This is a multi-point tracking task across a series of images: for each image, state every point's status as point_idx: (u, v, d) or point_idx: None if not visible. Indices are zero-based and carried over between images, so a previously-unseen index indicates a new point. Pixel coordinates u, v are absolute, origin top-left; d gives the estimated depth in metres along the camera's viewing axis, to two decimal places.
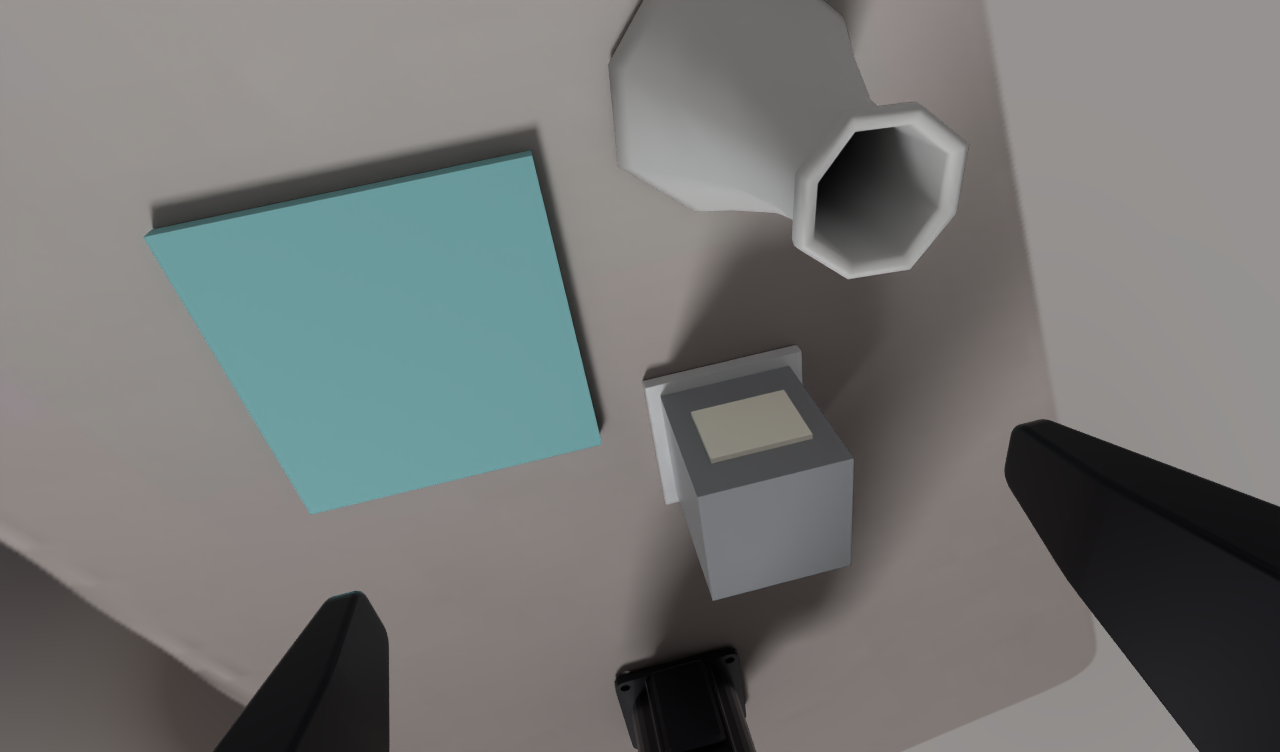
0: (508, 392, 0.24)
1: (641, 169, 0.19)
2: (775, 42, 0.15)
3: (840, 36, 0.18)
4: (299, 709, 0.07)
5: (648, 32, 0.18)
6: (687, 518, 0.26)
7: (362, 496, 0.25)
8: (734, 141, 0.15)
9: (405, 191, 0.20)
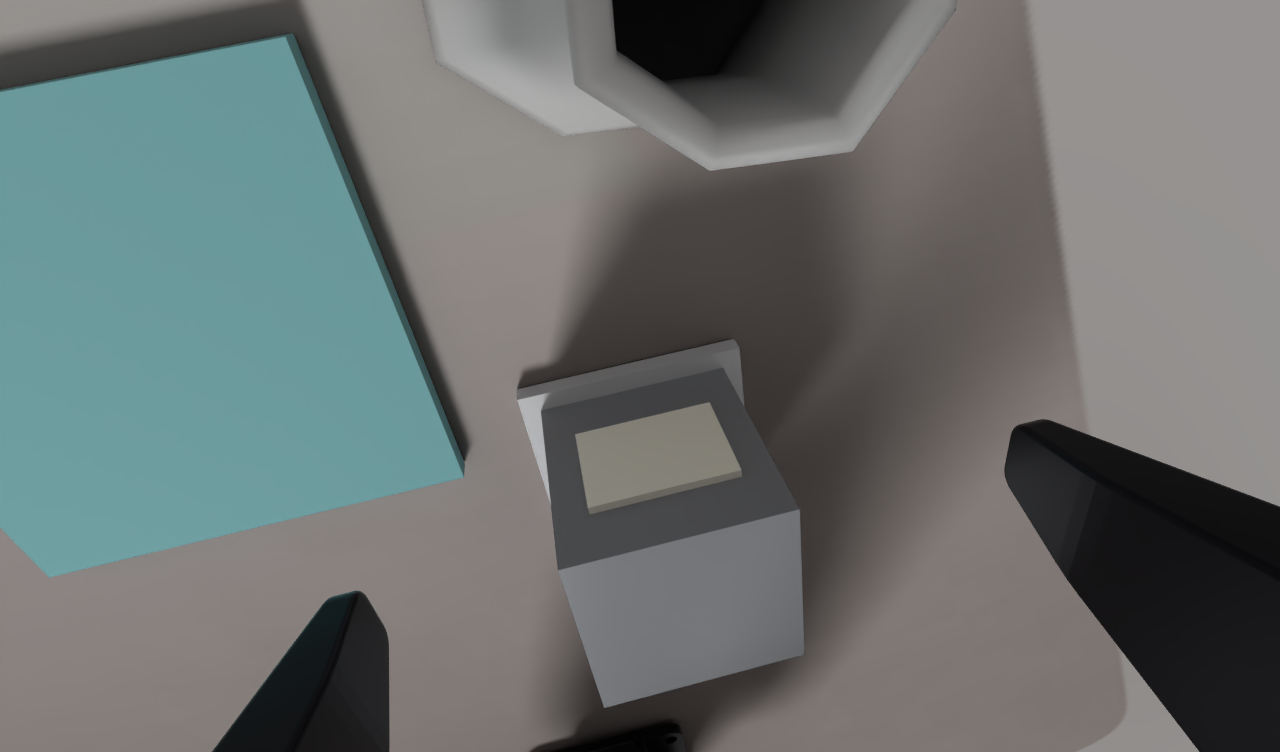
0: (312, 405, 0.17)
1: (454, 55, 0.12)
2: None
3: None
4: (299, 709, 0.07)
5: None
6: None
7: (122, 552, 0.18)
8: None
9: (82, 92, 0.12)
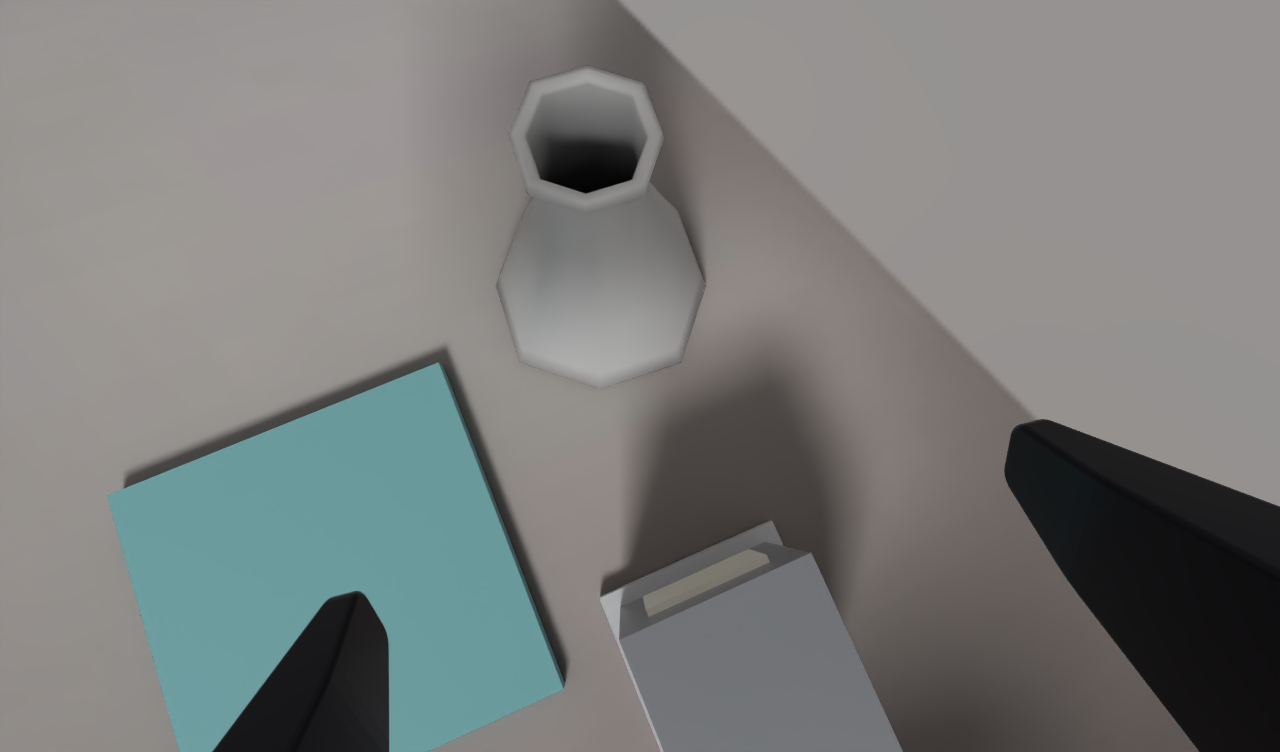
0: (440, 622, 0.21)
1: (525, 339, 0.22)
2: None
3: None
4: (299, 709, 0.07)
5: (513, 243, 0.23)
6: None
7: None
8: (534, 222, 0.18)
9: (331, 413, 0.22)
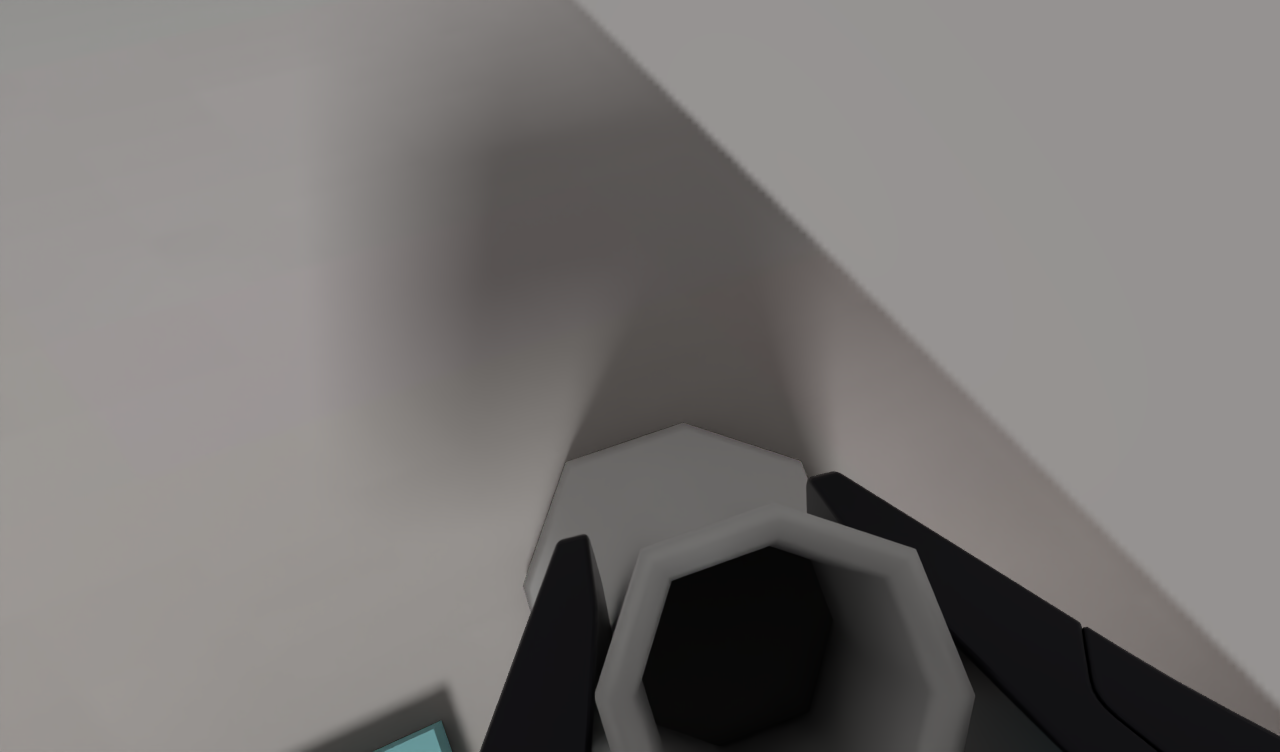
0: None
1: None
2: (657, 498, 0.11)
3: (782, 477, 0.13)
4: (582, 635, 0.07)
5: (550, 535, 0.14)
6: None
7: None
8: None
9: None
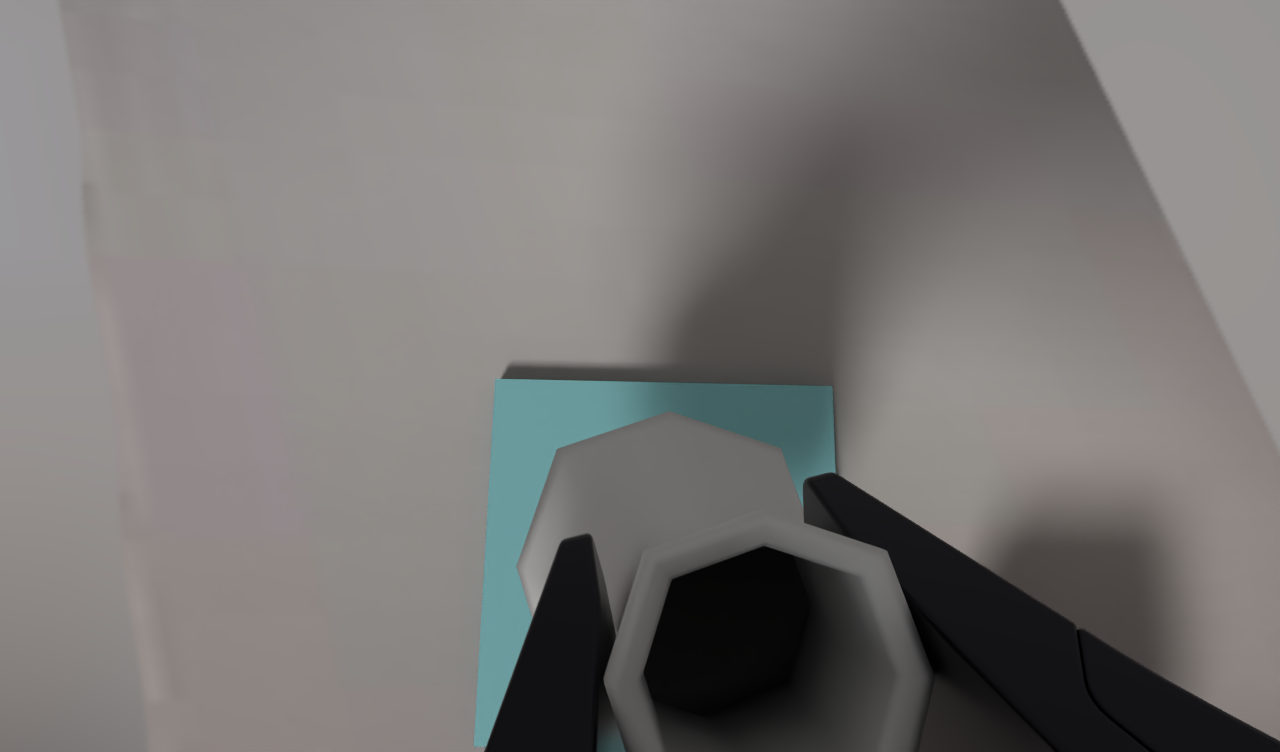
0: None
1: None
2: (649, 490, 0.12)
3: (764, 466, 0.14)
4: (586, 634, 0.07)
5: (543, 520, 0.15)
6: None
7: None
8: None
9: (717, 391, 0.22)
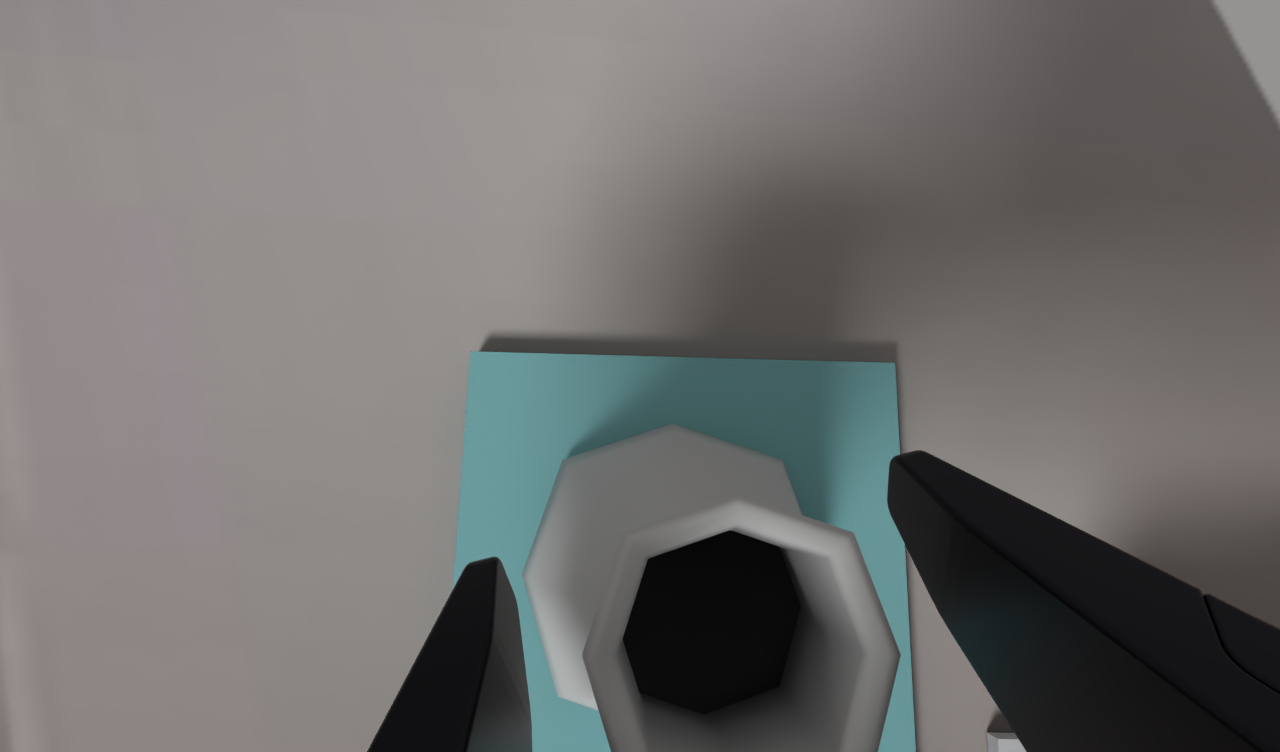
0: None
1: (569, 694, 0.14)
2: (644, 493, 0.12)
3: (761, 474, 0.14)
4: (471, 664, 0.07)
5: (547, 527, 0.15)
6: None
7: None
8: None
9: (750, 368, 0.18)
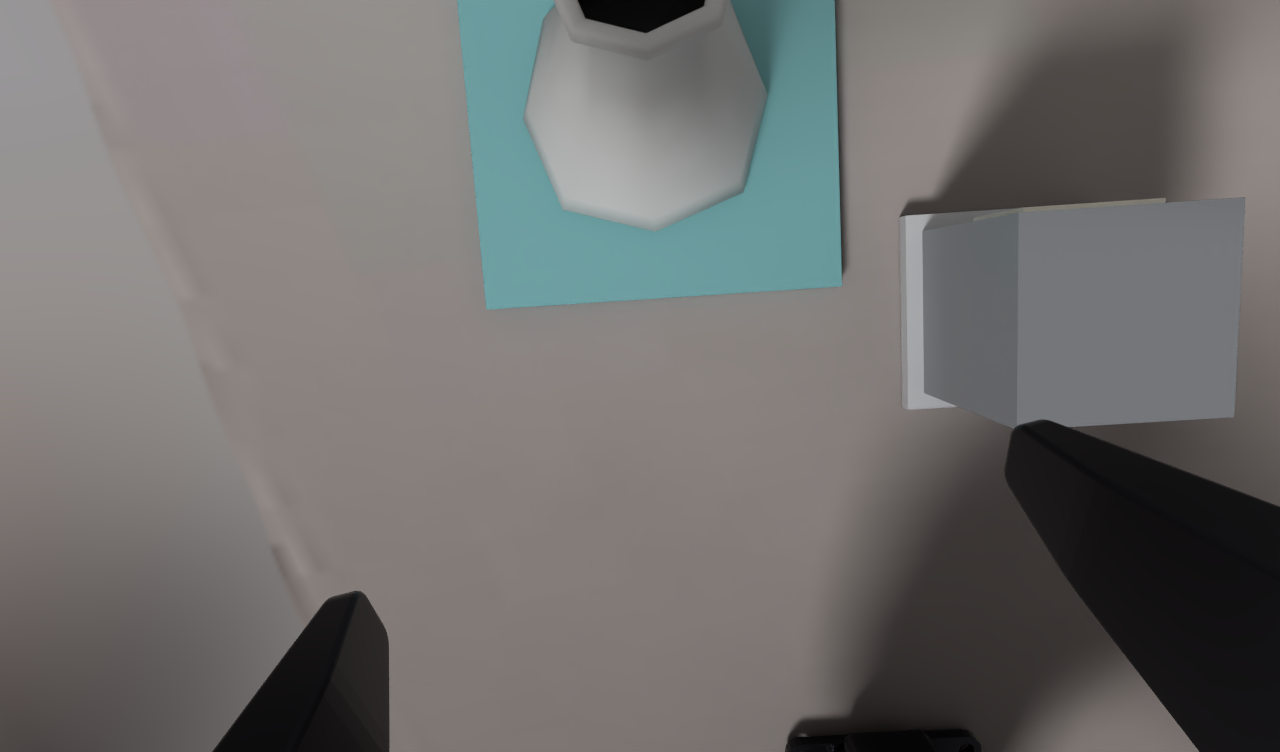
0: (747, 183, 0.21)
1: (567, 187, 0.19)
2: None
3: None
4: (299, 709, 0.07)
5: (536, 66, 0.19)
6: (955, 378, 0.19)
7: (550, 297, 0.21)
8: (570, 55, 0.14)
9: None
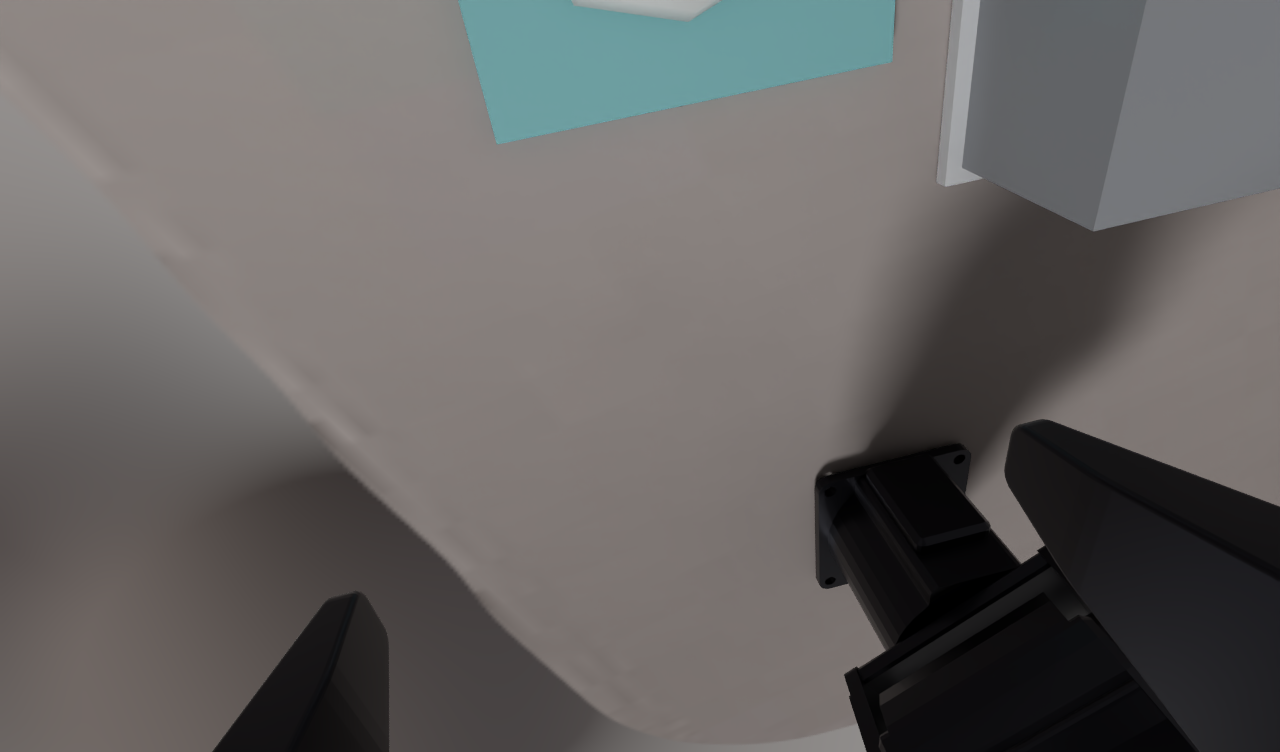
0: None
1: None
2: None
3: None
4: (299, 709, 0.07)
5: None
6: (1012, 162, 0.19)
7: (570, 119, 0.18)
8: None
9: None
